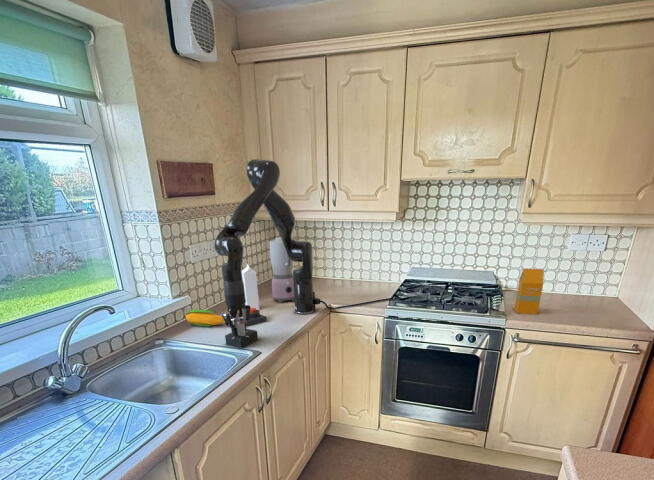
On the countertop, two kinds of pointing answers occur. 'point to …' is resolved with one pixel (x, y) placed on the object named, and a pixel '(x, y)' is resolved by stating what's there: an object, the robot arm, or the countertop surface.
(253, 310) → the power button
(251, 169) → the robot arm
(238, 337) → the fryer panel
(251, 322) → the button block
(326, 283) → the countertop surface
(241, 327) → the timer knob
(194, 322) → the corn
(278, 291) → the blender
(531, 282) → the orange juice
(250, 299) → the milk
